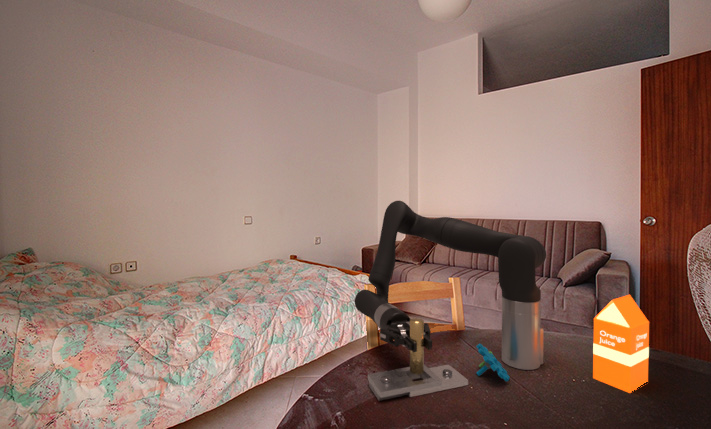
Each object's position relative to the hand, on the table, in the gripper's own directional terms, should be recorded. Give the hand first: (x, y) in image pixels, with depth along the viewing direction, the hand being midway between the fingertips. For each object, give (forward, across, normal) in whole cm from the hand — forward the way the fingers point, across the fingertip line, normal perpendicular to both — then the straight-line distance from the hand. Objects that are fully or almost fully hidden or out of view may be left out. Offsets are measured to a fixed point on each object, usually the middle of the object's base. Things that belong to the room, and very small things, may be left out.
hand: (422, 346), depth 77 cm
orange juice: (+11, +46, +10) cm, 49 cm away
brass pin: (-3, 0, +7) cm, 8 cm away
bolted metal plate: (-3, 0, +10) cm, 11 cm away
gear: (0, +19, +10) cm, 22 cm away
